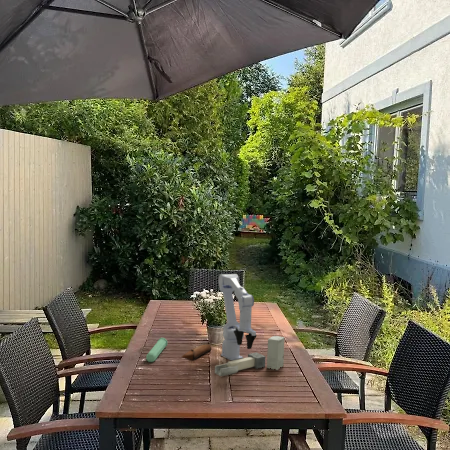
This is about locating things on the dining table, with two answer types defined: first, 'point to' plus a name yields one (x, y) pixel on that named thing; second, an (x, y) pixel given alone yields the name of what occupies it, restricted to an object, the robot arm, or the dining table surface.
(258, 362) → the socket
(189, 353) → the sunglasses case
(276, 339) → the skincare box
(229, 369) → the sleeve
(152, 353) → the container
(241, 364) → the inner rod
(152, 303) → the dining table surface
